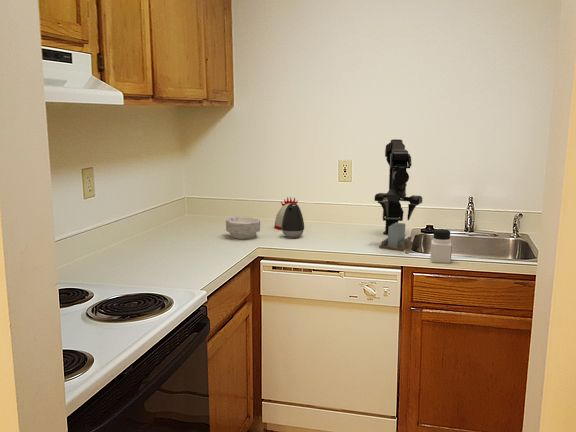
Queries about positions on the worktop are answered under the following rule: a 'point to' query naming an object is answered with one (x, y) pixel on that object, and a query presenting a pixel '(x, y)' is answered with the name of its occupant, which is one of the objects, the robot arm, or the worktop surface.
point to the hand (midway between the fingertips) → (397, 219)
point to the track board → (401, 245)
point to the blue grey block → (396, 234)
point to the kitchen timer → (282, 213)
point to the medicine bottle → (441, 246)
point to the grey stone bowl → (243, 227)
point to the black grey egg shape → (292, 221)
